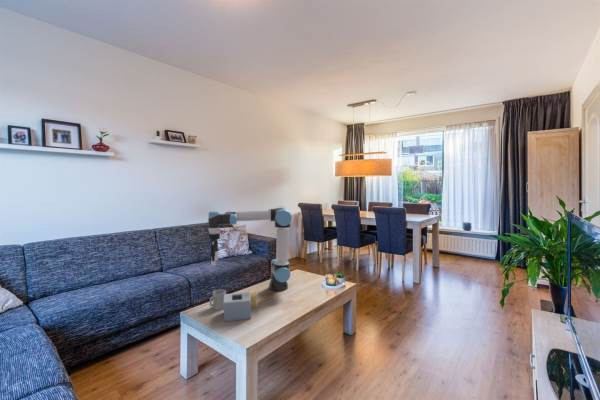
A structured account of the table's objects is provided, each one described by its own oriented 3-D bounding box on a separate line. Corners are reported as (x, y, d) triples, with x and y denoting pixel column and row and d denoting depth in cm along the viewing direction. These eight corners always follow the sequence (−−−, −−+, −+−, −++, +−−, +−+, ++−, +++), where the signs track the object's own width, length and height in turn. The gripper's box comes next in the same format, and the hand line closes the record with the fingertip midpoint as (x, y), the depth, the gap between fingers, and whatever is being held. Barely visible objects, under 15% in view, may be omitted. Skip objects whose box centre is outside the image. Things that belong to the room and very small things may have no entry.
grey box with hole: (249, 309, 195) (249, 292, 194) (250, 318, 182) (250, 299, 181) (224, 312, 191) (224, 294, 190) (223, 321, 179) (223, 302, 178)
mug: (220, 303, 205) (220, 288, 204) (228, 306, 200) (228, 291, 199) (206, 309, 195) (205, 293, 194) (214, 313, 190) (214, 296, 189)
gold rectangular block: (255, 303, 205) (255, 292, 204) (256, 307, 199) (256, 295, 198) (250, 304, 204) (250, 293, 203) (250, 307, 198) (250, 296, 197)
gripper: (211, 230, 220) (212, 258, 221) (205, 236, 195) (206, 268, 196) (221, 230, 221) (222, 257, 222) (217, 236, 196) (218, 267, 198)
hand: (214, 262), depth 209 cm, fingers open, 13 cm apart
